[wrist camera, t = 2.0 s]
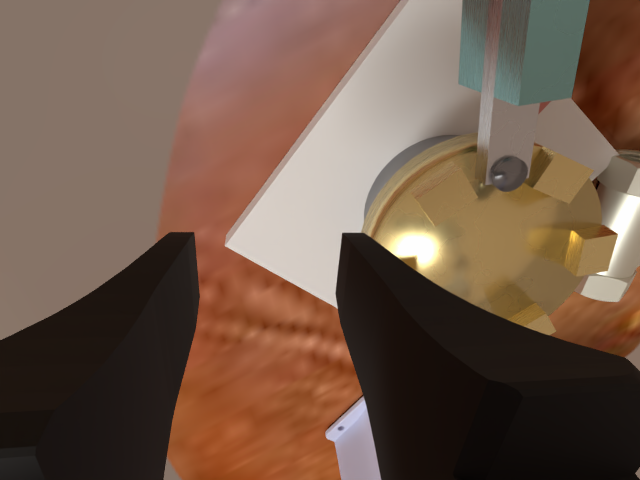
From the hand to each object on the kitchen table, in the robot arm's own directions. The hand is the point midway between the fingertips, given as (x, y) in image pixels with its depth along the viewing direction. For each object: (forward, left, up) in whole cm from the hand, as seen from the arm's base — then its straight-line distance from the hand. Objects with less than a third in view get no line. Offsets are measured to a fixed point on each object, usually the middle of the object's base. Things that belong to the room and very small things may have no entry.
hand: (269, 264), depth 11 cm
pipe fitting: (+9, -20, -11) cm, 24 cm away
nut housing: (+3, -9, -10) cm, 14 cm away
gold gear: (+6, -6, -6) cm, 10 cm away
